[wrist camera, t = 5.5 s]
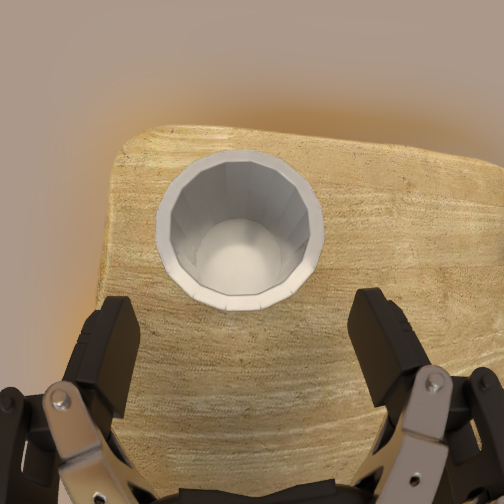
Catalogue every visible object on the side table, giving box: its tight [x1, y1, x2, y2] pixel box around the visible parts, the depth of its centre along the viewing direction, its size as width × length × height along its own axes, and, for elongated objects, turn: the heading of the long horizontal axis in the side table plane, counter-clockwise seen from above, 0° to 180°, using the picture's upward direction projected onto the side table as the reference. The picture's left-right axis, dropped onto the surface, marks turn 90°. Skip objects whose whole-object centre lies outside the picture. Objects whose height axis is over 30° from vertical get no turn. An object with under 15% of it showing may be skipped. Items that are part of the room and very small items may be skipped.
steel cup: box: [155, 150, 325, 312], centre depth 15 cm, size 6×6×8 cm
